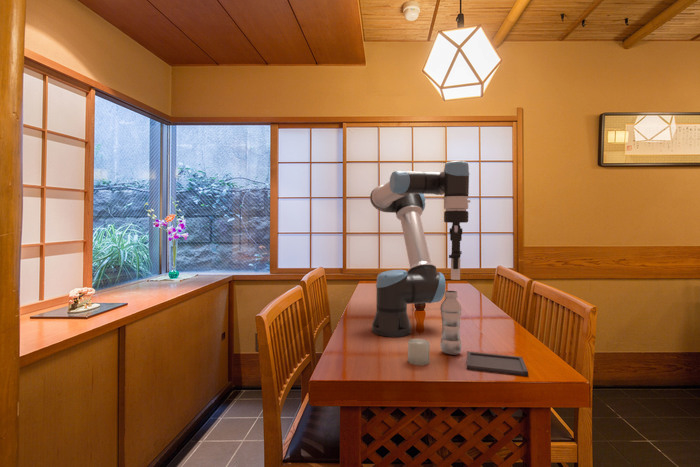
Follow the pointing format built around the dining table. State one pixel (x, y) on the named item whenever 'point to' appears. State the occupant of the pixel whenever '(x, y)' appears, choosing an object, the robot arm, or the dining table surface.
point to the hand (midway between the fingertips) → (455, 276)
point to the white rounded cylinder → (418, 351)
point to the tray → (496, 363)
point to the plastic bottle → (451, 324)
